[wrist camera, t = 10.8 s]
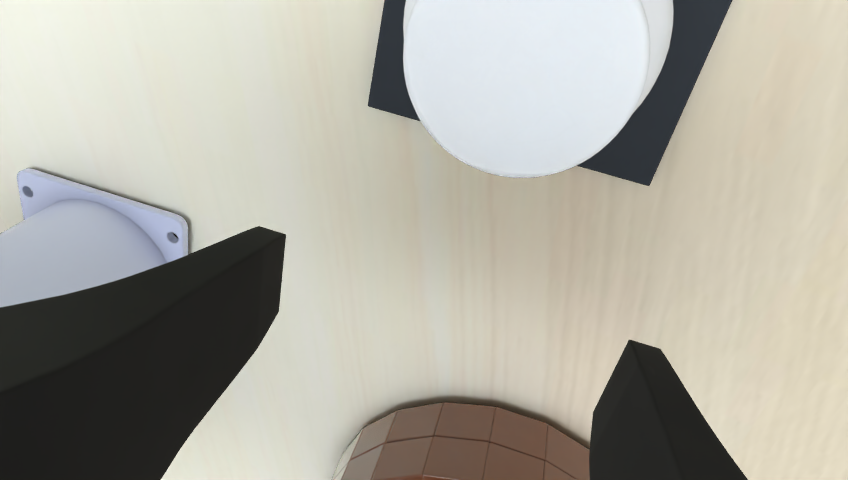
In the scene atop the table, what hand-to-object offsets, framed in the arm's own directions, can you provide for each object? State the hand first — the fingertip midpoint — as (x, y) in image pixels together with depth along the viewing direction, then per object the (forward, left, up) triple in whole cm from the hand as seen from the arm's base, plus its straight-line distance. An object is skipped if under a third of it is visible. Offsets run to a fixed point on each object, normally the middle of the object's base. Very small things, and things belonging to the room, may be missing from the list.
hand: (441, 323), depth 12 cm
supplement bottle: (+5, 0, -10) cm, 11 cm away
